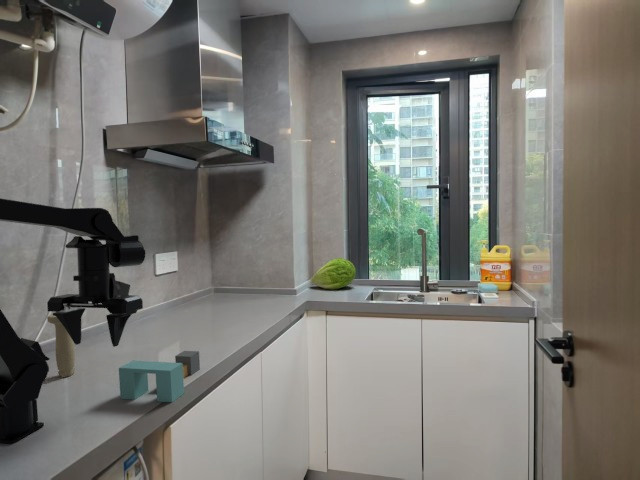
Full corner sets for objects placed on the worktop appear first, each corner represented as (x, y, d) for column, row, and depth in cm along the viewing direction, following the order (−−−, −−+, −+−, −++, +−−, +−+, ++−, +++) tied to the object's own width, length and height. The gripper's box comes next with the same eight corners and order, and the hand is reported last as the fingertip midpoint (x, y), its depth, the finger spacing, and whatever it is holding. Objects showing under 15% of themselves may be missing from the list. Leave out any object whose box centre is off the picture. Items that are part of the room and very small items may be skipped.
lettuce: (308, 297, 215) (323, 294, 229) (351, 284, 204) (364, 282, 218) (300, 268, 218) (315, 267, 232) (342, 254, 207) (356, 254, 221)
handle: (85, 372, 106) (81, 312, 105) (59, 381, 100) (55, 317, 99) (73, 369, 108) (69, 310, 107) (47, 378, 102) (42, 316, 101)
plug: (169, 390, 92) (168, 370, 92) (153, 389, 93) (152, 369, 93) (201, 368, 106) (201, 350, 106) (187, 367, 107) (186, 349, 106)
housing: (172, 402, 86) (170, 370, 86) (120, 398, 89) (118, 367, 89) (184, 393, 90) (182, 363, 90) (134, 389, 93) (132, 360, 93)
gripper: (157, 266, 93) (160, 337, 94) (85, 265, 98) (88, 333, 98) (122, 271, 83) (125, 351, 83) (43, 270, 87) (46, 347, 87)
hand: (96, 345), depth 88 cm, fingers open, 9 cm apart
